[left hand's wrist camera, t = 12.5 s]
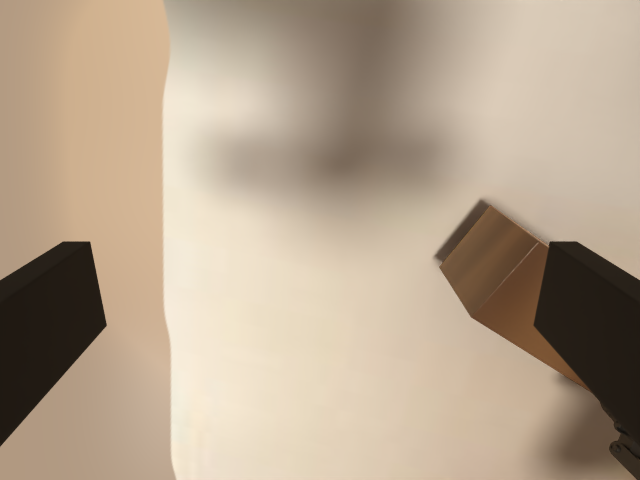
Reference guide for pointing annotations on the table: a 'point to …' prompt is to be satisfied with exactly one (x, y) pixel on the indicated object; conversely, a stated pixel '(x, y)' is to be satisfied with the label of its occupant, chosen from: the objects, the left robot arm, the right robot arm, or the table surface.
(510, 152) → the table surface
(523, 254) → the box
